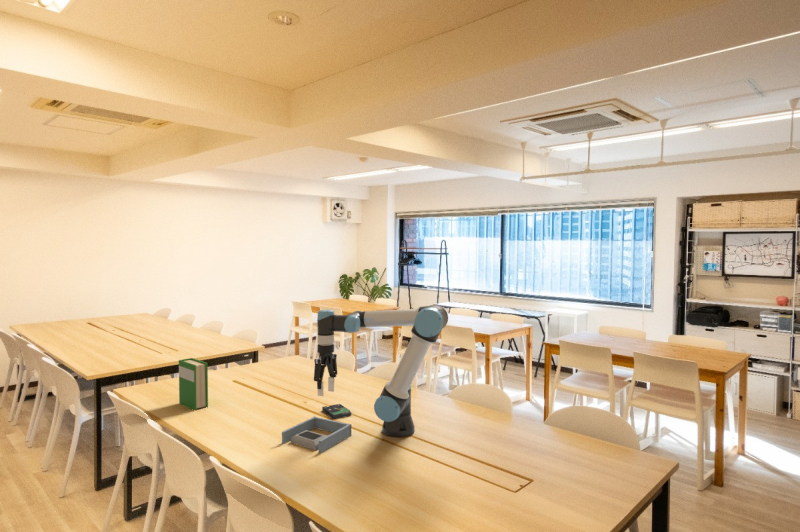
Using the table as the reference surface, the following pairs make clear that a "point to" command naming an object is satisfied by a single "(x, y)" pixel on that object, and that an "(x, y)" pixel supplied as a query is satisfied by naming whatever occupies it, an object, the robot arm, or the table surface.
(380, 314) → the robot arm
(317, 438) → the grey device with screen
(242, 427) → the table surface
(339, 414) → the disk drive
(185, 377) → the hardback book
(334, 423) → the open u-shaped frame
